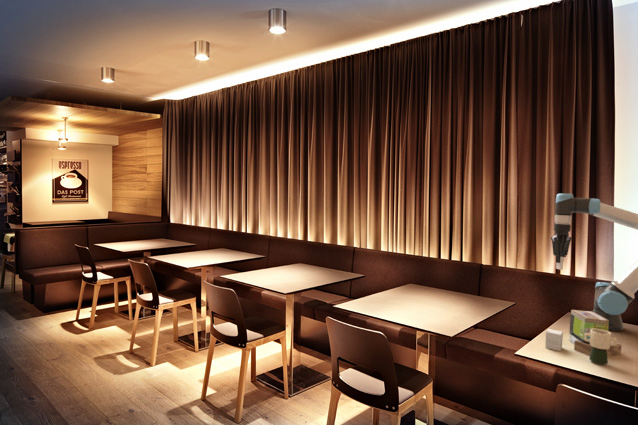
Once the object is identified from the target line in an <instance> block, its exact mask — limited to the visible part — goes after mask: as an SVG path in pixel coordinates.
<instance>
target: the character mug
mask: <svg viewBox="0 0 638 425" xmlns="http://www.w3.org/2000/svg"><path fill="white" fill-rule="evenodd" d="M587 336H590V339H587ZM584 340H585V341H588V342H590V345H591V346H593V348H592V350H591V354H590V356H589V360H590V361H591V362H592V363H595V364H598V365H607V364H608V363H609V361H608V360H609V359H608V357H609V356H607V350H606V349H609V348H610V346H616V344H617V341H618V340H617V338H616V337H612V332H610V330H608V331H606V330H602V329H591V331H590V334H588V333H585V337H584ZM612 341H613V343H612Z"/></svg>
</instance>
